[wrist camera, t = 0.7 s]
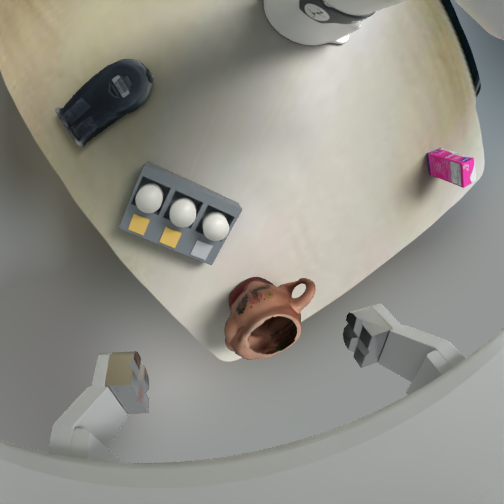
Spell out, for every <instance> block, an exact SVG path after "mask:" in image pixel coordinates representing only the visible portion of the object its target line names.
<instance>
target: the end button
mask: <svg viewBox="0 0 504 504" xmlns="http://www.w3.org/2000/svg"><path fill="white" fill-rule="evenodd" d="M162 200H163V191H162V189H161V188H160V187H159V186H158V185H156V184H154V183H148V184H145V185H144V186H142V187H141V189H140V190H139V192H138V193H137V195H136V199H135V201H136V205H137V207H138V209H139V210H140V211H142V212H144V213H153V212H155V211H157V210H158V209H159V208H160V206H161V204H162Z"/></svg>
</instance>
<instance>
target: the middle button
mask: <svg viewBox="0 0 504 504" xmlns="http://www.w3.org/2000/svg"><path fill="white" fill-rule="evenodd" d="M169 215H170V220H171V222H172V223H173V224H174V225H176V226H178V227H188V226H190V225H191V224H192V223H193V222H194V221H195V219H196V207H195V204H194V202H193V201H192V200H190V199H189V198H185V197H181V198H178V199H176V200H175V201H174V202H173V203H172V205H171V208H170V214H169Z"/></svg>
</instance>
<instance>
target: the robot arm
mask: <svg viewBox="0 0 504 504" xmlns="http://www.w3.org/2000/svg"><path fill="white" fill-rule="evenodd" d="M402 1H403V0H263V2H264V10H265V14H266V16H267V19H268V20H269V22H270V24H271V25H272V26H273V27H274V28H275V29H276V30H277V31H278V32H279V33H280V34H282V35H283V36H284V37H286V38H288V39H290V40H292V41H294V42H297V43H300V44H304V45H322V44H325V43H336V44H344V43H346V42H347V41H348V39H349V36H350V33H352V32H354V31H356V30H358V29H359V28H360V27H361V26H360V24H361V21H363V20H365V19H367V18H368V17H370V16H371V15H373V14H374V13H375V12H376V11H378V10H381V9H383V8H386V7H389V6H392V5H395V4H398V3H400V2H402ZM455 1H456V3H457V4H459V5H460V6H461V7H462V8H463V9H464V10H465V11H466V12H467V13H468V14H469V15H470V16H471V17H472V18H473V19H474V20H475V21H476V22H478V24H480V25H481V26H482V27H483V28H484V29H485V30H486V31H487V32H488V33H489V34H491V35H493V36H495V37H497V38H500V39H503V40H504V0H455ZM346 321H347V323H348V324H347V325H346V327H345V328H344V331H343V339H344V343H345V345H346V346H347V348H348V349H349V350H351V351H353V352H354V358H355V360H356V361H357V363H358V364H359V366H360V367H361V368H362V367H365V366H368V365H371V364H373V363H376V362H378V363H379V364H381V365H383V366H384V367H386V368H388V369H389V370H391V371H393V372H395V373H396V374H398V375H400V376H402V377H404V378H405V379H407V380H409V381H411V384H410V386H409V387H408V389H407V392H406V393H407V394H408V395H407V396H405V397H404V398H402V399H400V400H398V401H396V402H394V403H392V404H390V405H388V406H386V407H384V408H382V409H380V410H378V411H375V412H373V413H372V414H369V415H366V416H364V417H362V418H360V419H357V420H355V421H352V422H350V423H348V424H345V425H343V426H340V427H337V428H334V429H332V430H329V431H326V432H323V433H320V434H317V435H314V436H311V437H308V438H305V439H302V440H298V441H295V442H291V443H288V444H284V445H280V446H276V447H272V448H268V449H264V450H259V451H254V452H249V453H244V454H239V455H233V456H227V457H221V458H213V459H205V460H196V461H184V462H168V463H124V462H120V461H119V458H118V457H117V456H116V455H115V454H113V453H112V452H111V451H110V450H109V449H108V447H109V446H110V444H111V442H112V441H113V439H114V438H115V436H116V434H117V433H118V431H119V430H120V428H121V426H122V425H123V423H124V421H125V420H126V418H127V416H128V414H139V413H149V398H148V396H147V394H146V392H147V391H148V390H149V379H148V374H147V371H146V368H145V366H144V365H142V364H141V363H140V361H141V358H140V356H139V354H138V352H136V351H135V352H115V353H100V354H99V355H98V358H97V363H96V367H95V371H94V377H93V381H92V386H91V387H87V389H86V390H84V392H83V393H82V394H81V395H80V396H79V397H78V398H77V399H76V400H75V401H74V402H73V403H72V405H71V406H70V407H69V408H68V409H67V410H66V411H65V412H64V413H63V414H62V415H61V417H60V418H59V419H58V420H57V421H56V422H55V423H54V424H53V429H52V434H51V440H50V446H49V452H48V453H46V452H42V451H38V450H33V449H30V448H26V447H22V446H19V445H15V444H12V443H9V442H6V441H3V440H0V504H504V328H503V329H501V330H500V331H499V332H498V333H497V334H496V335H495V336H494V337H492V338H491V339H490V340H489V341H488V342H487V343H485V344H484V345H483V346H481V347H480V348H479V349H478V350H476V351H475V352H474V353H472V354H471V355H470V356H468V357H467V358H466V359H465V358H464V357H463V355H462V354H461V353H460V352H459V351H458V350H457V349H456V348H455V347H454V346H453V345H452V344H451V343H450V342H449V341H447V340H445V339H442V338H439V337H436V336H434V335H431V334H428V333H426V332H423V331H420V330H417V329H415V328H412V327H409V326H407V325H403V326H402V325H401V324H400V323H399V322H398V321H397V320H396V319H395V318H394V317H393V315H392V314H391V313H390V312H389V311H388V310H387V309H386V308H385V307H384V306H383V305H382V304H376V305H372V306H369V307H366V308H363V309H359V310H356V311H352V312H349V313H348V315H347V318H346Z"/></svg>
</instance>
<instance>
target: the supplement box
mask: <svg viewBox="0 0 504 504" xmlns="http://www.w3.org/2000/svg"><path fill="white" fill-rule="evenodd" d="M427 159H428V167H429V175H432V176H434V177H437V178H440V179H443V180H445V181H448V182H450V183H453V184H456V185H458V186H460V187H463V188H464V187H466V186H467V185H469V184H471V183H473V182H474V181H476V175H475V158H474V157H470V156H467V155H464V154H460V153H457V152H453V151H450V150H446V149H442V148H439V149H437V150H435V151H432V152H429V153H427Z"/></svg>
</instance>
